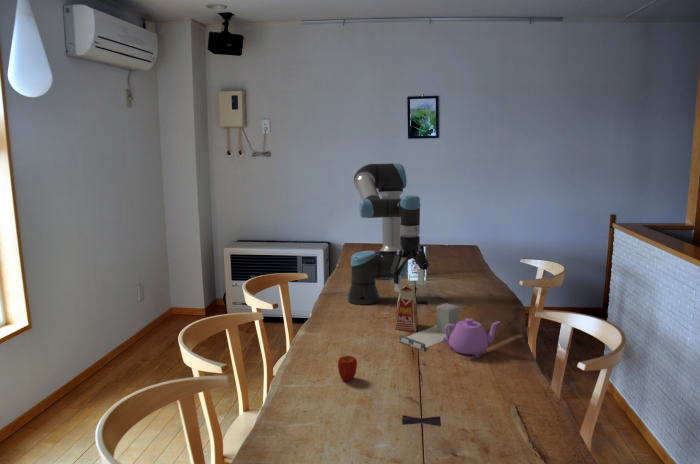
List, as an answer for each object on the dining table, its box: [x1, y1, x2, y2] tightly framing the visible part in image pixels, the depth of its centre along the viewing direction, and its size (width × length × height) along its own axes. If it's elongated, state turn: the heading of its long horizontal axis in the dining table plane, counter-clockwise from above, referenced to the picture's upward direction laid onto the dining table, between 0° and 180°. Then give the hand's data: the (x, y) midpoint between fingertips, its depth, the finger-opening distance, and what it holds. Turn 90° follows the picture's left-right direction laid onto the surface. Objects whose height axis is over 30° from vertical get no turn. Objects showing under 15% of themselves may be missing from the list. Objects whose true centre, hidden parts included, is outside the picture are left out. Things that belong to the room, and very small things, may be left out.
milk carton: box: [393, 282, 419, 332], centre depth 216 cm, size 9×9×20 cm
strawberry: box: [337, 355, 358, 382], centre depth 173 cm, size 6×6×8 cm
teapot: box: [442, 317, 501, 359], centre depth 193 cm, size 20×14×12 cm
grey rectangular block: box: [436, 302, 460, 335], centre depth 211 cm, size 6×6×10 cm
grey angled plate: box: [398, 325, 450, 352], centre depth 207 cm, size 12×24×3 cm, turn 131°
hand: (409, 288), depth 213 cm, fingers open, 13 cm apart
